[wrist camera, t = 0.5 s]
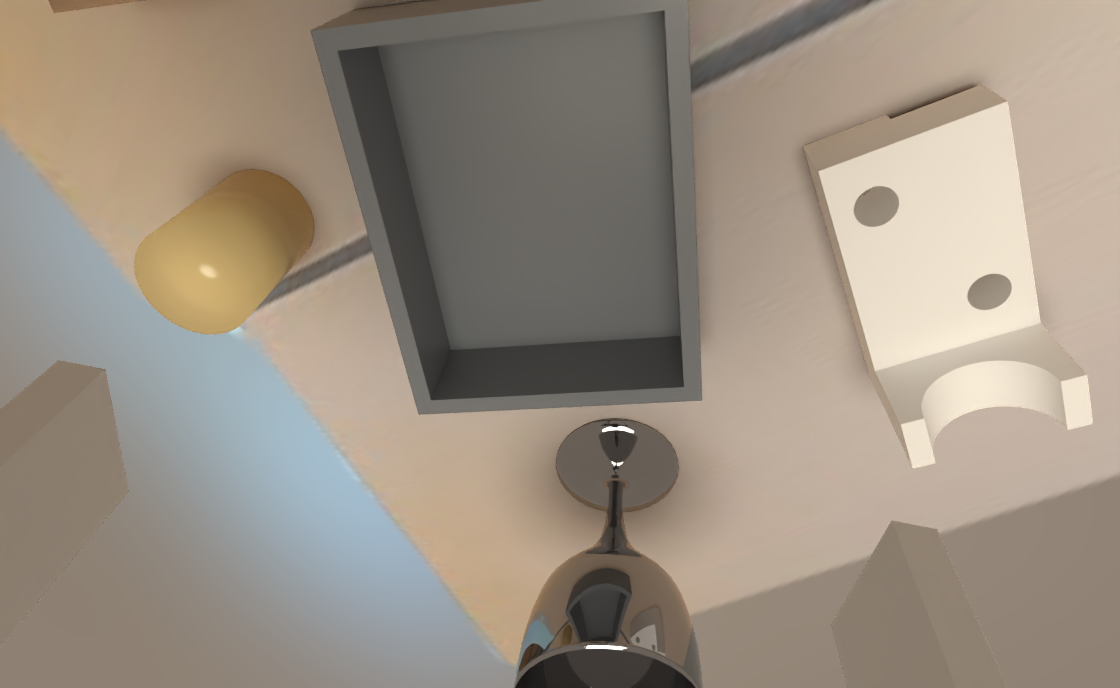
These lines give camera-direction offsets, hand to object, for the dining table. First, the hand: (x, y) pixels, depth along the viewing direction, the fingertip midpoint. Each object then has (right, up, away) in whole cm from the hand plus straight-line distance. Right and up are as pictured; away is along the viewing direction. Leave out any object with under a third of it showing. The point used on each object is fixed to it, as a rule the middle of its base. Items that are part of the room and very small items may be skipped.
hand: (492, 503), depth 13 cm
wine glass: (+5, -4, +31) cm, 32 cm away
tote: (0, +10, +22) cm, 24 cm away
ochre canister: (-13, +9, +24) cm, 29 cm away
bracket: (+18, +8, +23) cm, 30 cm away
